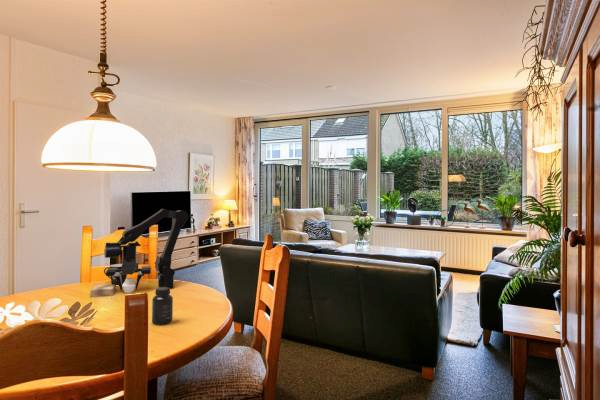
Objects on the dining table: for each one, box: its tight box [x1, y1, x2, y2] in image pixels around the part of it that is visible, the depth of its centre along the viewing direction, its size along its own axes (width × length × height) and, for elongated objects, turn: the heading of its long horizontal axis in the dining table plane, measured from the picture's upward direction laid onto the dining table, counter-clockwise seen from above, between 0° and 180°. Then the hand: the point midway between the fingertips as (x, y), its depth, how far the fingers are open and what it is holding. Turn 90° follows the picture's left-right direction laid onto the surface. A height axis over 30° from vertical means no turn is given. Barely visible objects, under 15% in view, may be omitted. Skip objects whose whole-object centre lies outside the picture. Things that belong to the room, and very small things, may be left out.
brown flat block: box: [90, 284, 117, 298], centre depth 165 cm, size 9×9×3 cm
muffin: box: [122, 277, 136, 294], centre depth 169 cm, size 6×6×7 cm
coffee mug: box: [103, 263, 128, 285], centre depth 185 cm, size 12×9×10 cm
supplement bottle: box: [151, 287, 174, 326], centre depth 127 cm, size 7×7×12 cm
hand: (128, 289), depth 169 cm, fingers closed on muffin, 6 cm apart
